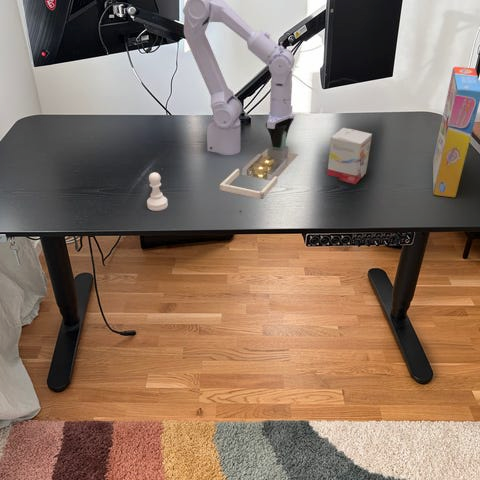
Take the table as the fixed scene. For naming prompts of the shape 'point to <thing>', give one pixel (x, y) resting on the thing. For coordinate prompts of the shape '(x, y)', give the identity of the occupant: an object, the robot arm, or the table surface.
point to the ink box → (349, 155)
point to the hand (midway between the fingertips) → (279, 144)
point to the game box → (455, 130)
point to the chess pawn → (156, 194)
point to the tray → (242, 191)
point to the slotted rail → (275, 171)
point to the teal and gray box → (279, 149)
